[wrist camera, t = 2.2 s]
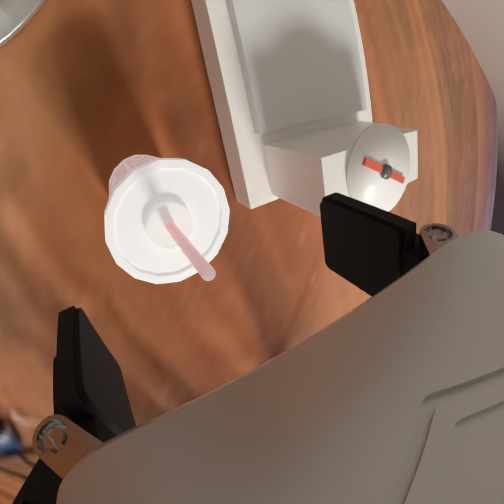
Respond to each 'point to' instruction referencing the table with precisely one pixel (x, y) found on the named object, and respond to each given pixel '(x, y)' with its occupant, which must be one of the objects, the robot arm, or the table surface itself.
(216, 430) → the robot arm
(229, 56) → the scale
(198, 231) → the beverage cup
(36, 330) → the table surface
